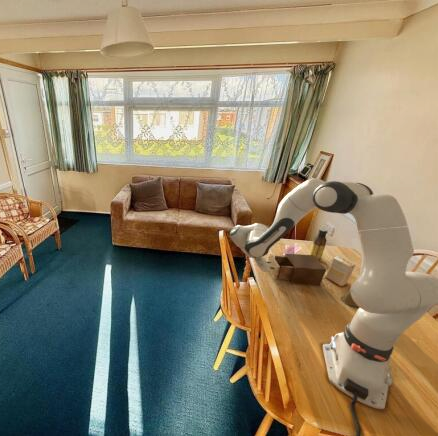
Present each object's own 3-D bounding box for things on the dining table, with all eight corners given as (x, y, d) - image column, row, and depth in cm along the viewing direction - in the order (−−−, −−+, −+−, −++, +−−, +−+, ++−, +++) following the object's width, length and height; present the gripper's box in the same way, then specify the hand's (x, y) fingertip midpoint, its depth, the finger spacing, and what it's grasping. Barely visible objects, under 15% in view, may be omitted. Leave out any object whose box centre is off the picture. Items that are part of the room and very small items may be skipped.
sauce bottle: (320, 256, 142) (331, 229, 133) (320, 262, 137) (332, 233, 129) (307, 253, 145) (317, 226, 137) (307, 258, 140) (318, 230, 132)
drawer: (265, 279, 122) (268, 266, 118) (258, 266, 132) (261, 253, 129) (300, 282, 120) (305, 268, 116) (291, 268, 130) (295, 256, 127)
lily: (284, 251, 149) (280, 241, 145) (305, 251, 141) (302, 240, 137) (282, 265, 142) (278, 255, 138) (305, 266, 134) (301, 254, 130)
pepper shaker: (362, 307, 105) (372, 289, 101) (347, 305, 107) (356, 287, 102) (354, 298, 111) (363, 280, 106) (340, 296, 112) (348, 278, 107)
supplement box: (346, 284, 120) (356, 264, 114) (341, 287, 118) (350, 266, 112) (330, 275, 127) (339, 255, 121) (324, 277, 125) (333, 257, 119)
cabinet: (289, 283, 121) (295, 267, 116) (280, 268, 132) (285, 253, 127) (319, 285, 119) (326, 269, 114) (307, 270, 130) (313, 255, 126)
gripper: (263, 257, 112) (279, 275, 115) (252, 236, 130) (266, 252, 133) (252, 264, 114) (268, 281, 117) (242, 242, 132) (256, 257, 135)
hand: (267, 265), depth 125 cm, fingers closed on drawer, 6 cm apart
